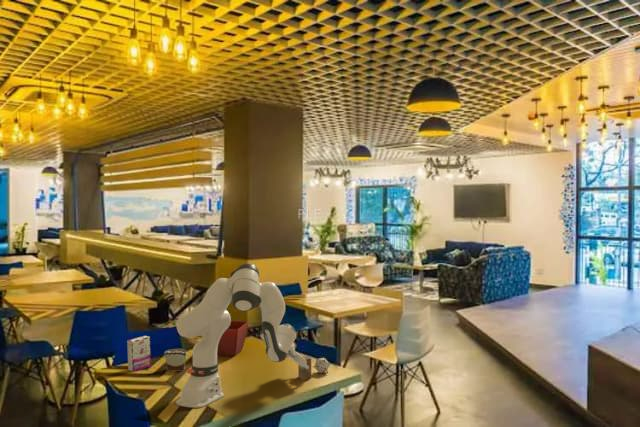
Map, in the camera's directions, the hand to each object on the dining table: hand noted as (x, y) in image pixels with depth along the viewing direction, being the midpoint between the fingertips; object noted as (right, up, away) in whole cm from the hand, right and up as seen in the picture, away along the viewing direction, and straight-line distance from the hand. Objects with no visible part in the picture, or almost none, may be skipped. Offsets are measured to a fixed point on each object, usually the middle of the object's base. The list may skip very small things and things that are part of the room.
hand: (304, 365), depth 255 cm
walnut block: (0, -6, +1) cm, 7 cm away
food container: (-68, -7, +16) cm, 71 cm away
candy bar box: (-89, -7, +17) cm, 91 cm away
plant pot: (-46, -6, +44) cm, 64 cm away
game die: (+9, -6, +7) cm, 13 cm away
